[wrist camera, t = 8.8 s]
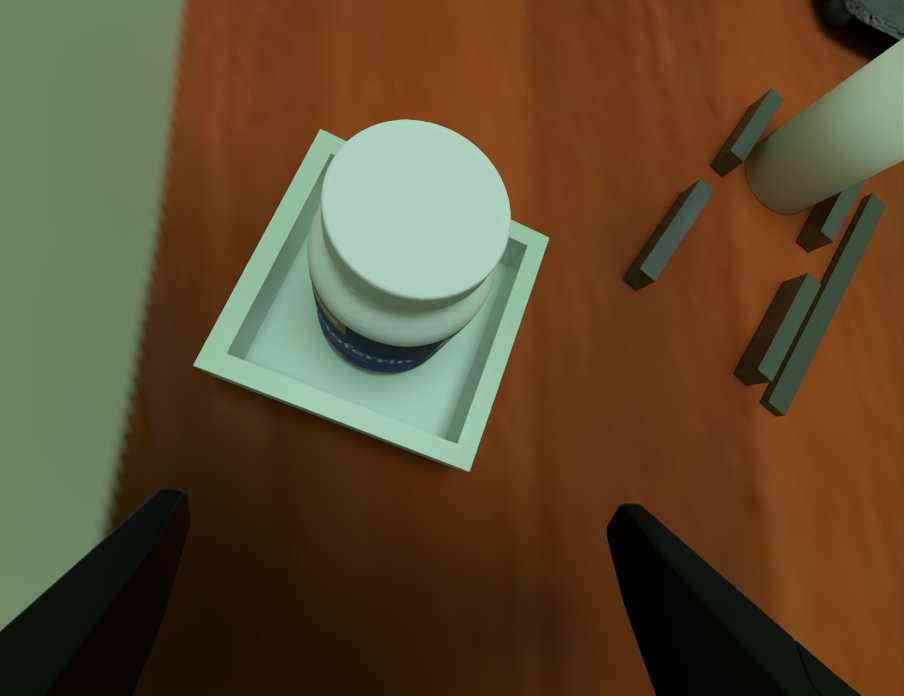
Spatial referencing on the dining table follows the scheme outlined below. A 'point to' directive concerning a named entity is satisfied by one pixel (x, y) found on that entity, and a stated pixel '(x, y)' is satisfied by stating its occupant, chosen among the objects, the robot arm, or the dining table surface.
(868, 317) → the dining table surface
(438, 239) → the pill bottle
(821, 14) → the serving board
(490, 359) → the tray
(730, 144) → the set of grey bars
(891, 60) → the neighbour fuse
